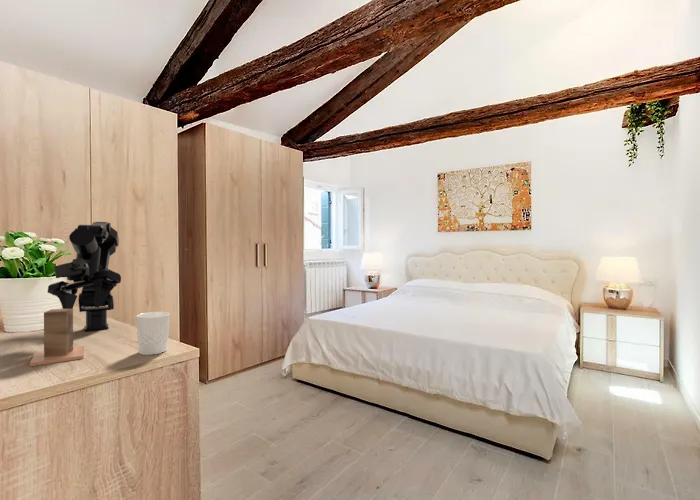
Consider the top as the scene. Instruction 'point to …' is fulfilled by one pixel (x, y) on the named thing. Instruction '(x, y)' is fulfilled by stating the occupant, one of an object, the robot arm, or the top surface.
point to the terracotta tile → (57, 357)
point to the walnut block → (58, 332)
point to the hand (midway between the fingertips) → (81, 311)
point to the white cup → (152, 332)
